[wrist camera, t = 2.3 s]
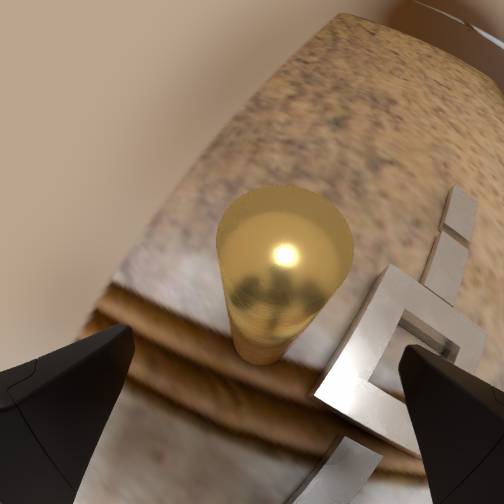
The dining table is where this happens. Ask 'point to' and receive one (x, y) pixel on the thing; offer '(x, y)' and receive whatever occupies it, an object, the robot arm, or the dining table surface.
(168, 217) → the dining table surface
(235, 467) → the dining table surface
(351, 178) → the dining table surface
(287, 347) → the pin
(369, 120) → the dining table surface
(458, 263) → the square frame with tiles
